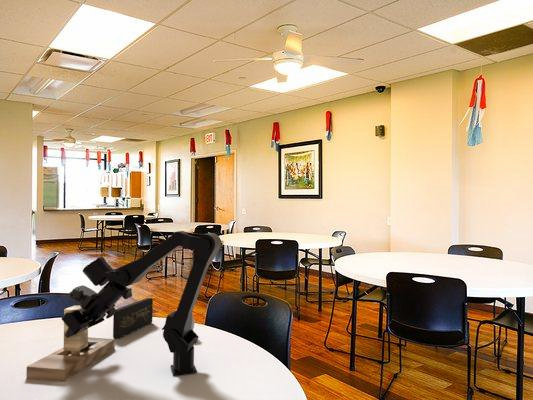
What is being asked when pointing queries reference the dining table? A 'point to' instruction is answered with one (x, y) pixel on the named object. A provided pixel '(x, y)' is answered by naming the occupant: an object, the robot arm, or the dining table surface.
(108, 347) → the keyhole board
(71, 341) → the peg
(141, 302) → the nameplate
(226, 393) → the dining table surface
